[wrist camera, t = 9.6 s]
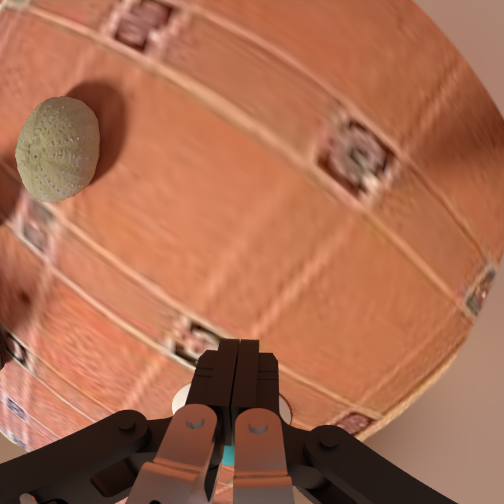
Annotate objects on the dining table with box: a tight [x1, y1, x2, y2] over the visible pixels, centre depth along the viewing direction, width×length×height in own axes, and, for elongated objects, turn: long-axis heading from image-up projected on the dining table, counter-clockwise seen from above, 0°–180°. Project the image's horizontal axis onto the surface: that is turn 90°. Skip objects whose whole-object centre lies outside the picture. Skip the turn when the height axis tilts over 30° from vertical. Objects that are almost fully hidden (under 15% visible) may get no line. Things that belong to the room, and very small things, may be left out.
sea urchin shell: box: [15, 96, 100, 203], centre depth 20 cm, size 9×8×8 cm
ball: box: [222, 440, 235, 465], centre depth 29 cm, size 6×6×6 cm
